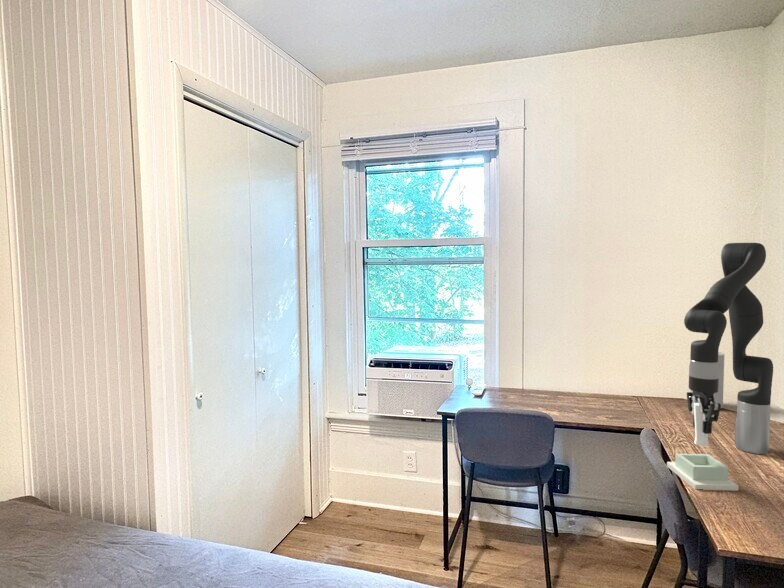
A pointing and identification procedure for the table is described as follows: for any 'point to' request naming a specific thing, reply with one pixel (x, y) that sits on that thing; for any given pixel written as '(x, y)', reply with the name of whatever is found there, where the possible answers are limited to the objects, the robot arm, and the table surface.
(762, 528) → the table surface
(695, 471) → the stand
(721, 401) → the cylinder vase
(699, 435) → the perfume bottle
